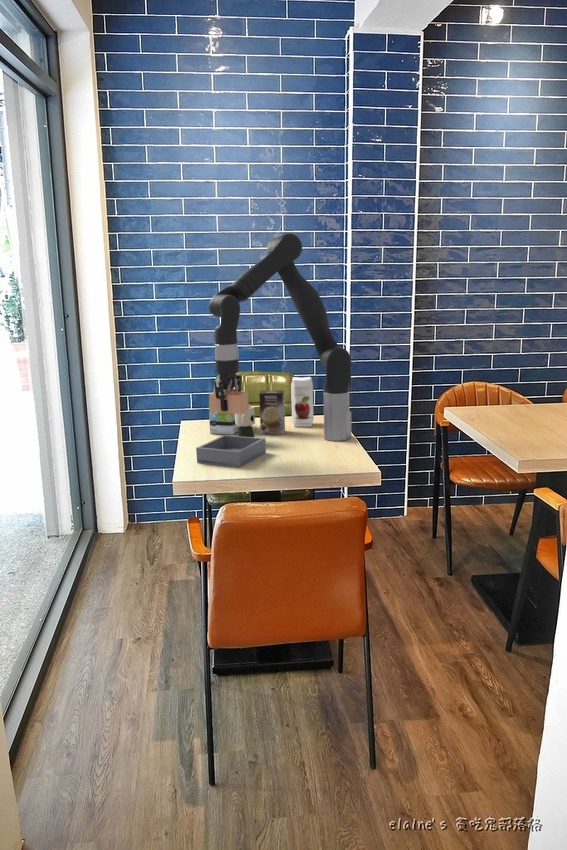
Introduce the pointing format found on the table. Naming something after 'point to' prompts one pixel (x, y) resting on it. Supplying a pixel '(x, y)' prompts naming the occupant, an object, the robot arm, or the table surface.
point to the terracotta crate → (230, 402)
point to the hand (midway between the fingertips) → (229, 408)
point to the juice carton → (302, 401)
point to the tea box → (222, 422)
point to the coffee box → (272, 412)
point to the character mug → (245, 422)
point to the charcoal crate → (231, 450)
